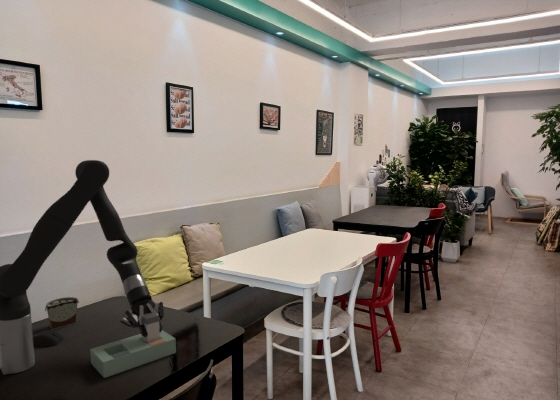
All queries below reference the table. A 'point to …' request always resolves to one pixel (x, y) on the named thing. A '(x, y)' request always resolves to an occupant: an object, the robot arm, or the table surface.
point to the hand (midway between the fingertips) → (153, 333)
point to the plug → (151, 327)
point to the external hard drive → (127, 321)
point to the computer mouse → (47, 338)
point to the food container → (62, 312)
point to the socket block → (130, 353)
